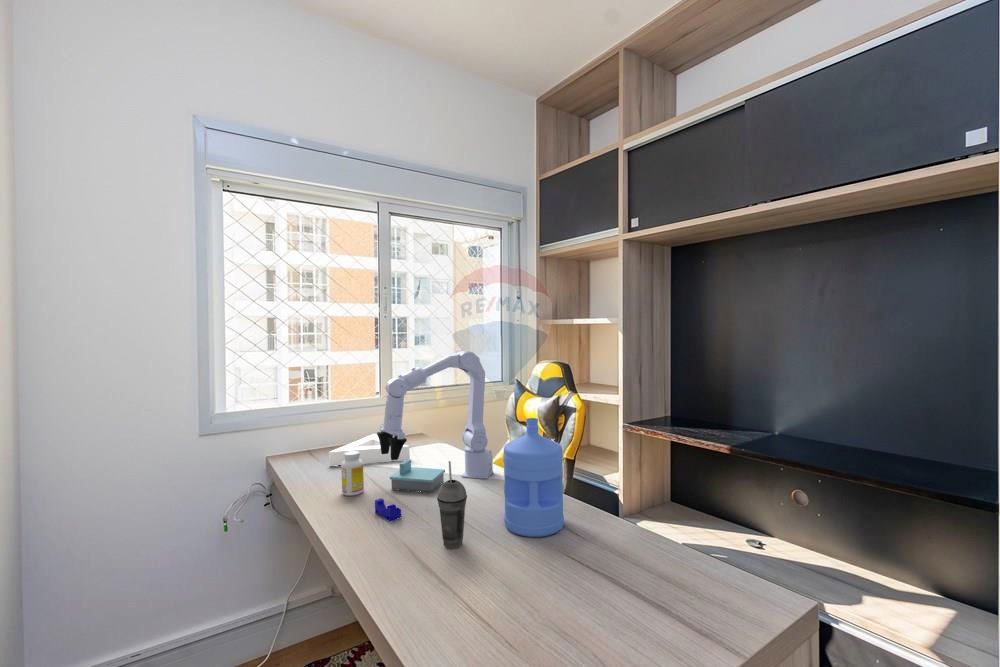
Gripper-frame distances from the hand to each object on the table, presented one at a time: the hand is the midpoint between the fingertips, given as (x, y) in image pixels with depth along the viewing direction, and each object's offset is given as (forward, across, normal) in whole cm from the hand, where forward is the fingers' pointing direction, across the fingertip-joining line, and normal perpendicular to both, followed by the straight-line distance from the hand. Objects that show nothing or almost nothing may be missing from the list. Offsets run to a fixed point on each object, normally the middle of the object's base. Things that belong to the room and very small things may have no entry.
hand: (389, 456), depth 149 cm
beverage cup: (+10, +46, -3) cm, 47 cm away
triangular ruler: (+11, -42, +12) cm, 45 cm away
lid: (+6, +4, +9) cm, 11 cm away
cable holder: (+11, +20, -8) cm, 24 cm away
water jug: (+7, +51, +19) cm, 55 cm away
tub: (+9, +4, +9) cm, 14 cm away
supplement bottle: (+12, -4, -9) cm, 16 cm away
